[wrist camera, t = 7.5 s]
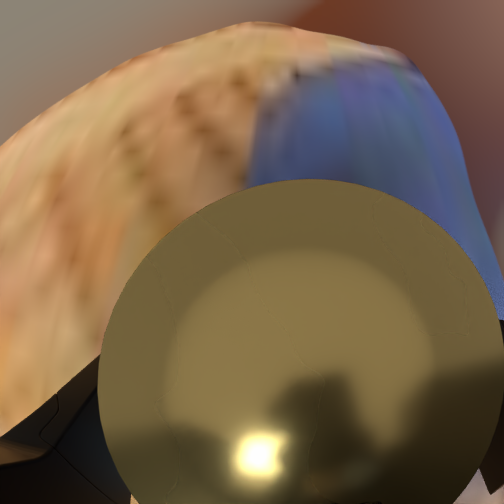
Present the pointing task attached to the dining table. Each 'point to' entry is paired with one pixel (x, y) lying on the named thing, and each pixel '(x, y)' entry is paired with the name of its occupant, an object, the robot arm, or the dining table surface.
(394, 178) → the dining table surface
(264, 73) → the dining table surface
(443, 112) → the dining table surface
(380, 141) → the dining table surface
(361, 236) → the pin
